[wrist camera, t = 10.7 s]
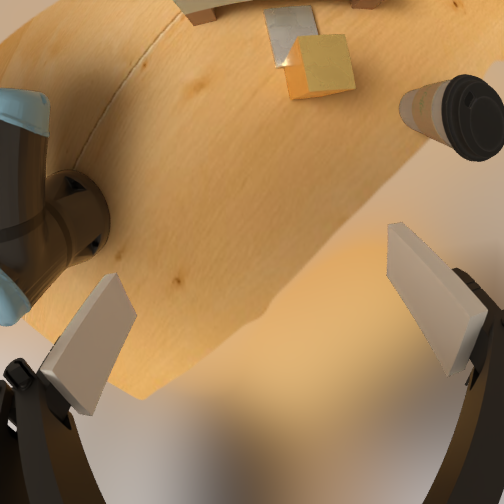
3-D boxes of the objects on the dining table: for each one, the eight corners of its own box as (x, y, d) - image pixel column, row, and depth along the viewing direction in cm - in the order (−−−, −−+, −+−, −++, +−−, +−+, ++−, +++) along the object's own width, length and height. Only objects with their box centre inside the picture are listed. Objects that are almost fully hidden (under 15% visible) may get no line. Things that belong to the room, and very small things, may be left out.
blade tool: (282, 101, 33) (296, 93, 20) (263, 12, 27) (265, -36, 14) (328, 96, 32) (367, 88, 20) (309, 8, 26) (334, -38, 14)
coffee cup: (390, 71, 30) (454, 59, 16) (444, 90, 30) (514, 93, 16) (384, 135, 34) (447, 153, 21) (437, 149, 34) (505, 174, 21)
